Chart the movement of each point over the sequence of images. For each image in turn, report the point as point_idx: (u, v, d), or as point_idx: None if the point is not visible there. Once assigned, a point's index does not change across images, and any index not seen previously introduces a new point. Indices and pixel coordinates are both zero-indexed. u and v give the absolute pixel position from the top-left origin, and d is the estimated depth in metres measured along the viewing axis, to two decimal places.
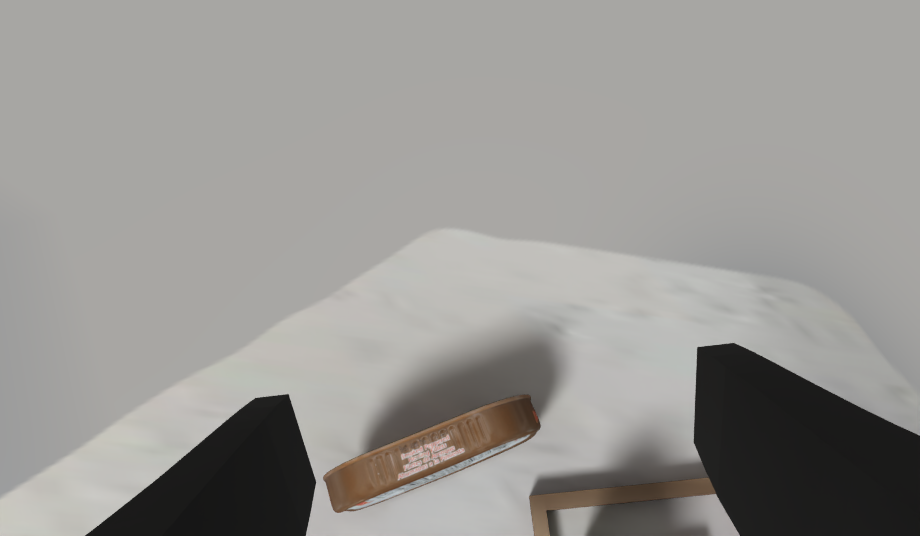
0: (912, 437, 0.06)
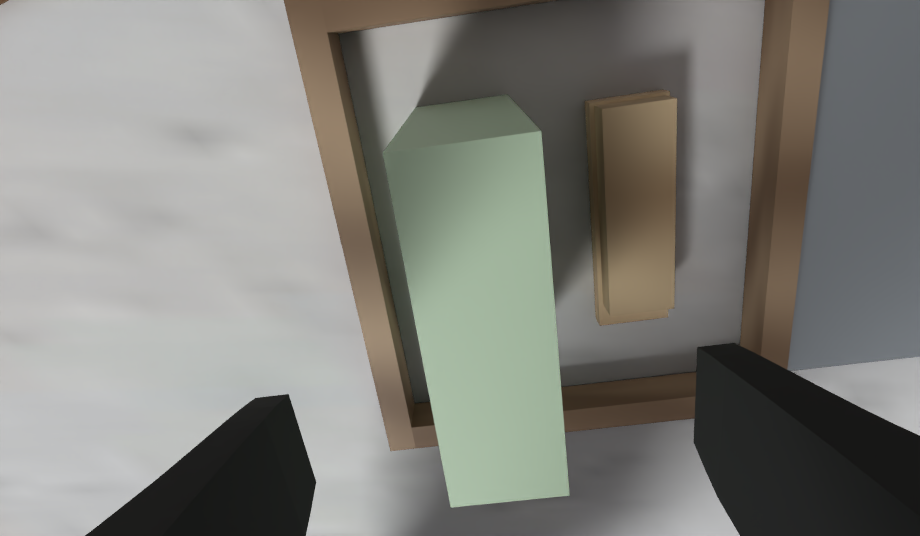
0: (911, 437, 0.06)
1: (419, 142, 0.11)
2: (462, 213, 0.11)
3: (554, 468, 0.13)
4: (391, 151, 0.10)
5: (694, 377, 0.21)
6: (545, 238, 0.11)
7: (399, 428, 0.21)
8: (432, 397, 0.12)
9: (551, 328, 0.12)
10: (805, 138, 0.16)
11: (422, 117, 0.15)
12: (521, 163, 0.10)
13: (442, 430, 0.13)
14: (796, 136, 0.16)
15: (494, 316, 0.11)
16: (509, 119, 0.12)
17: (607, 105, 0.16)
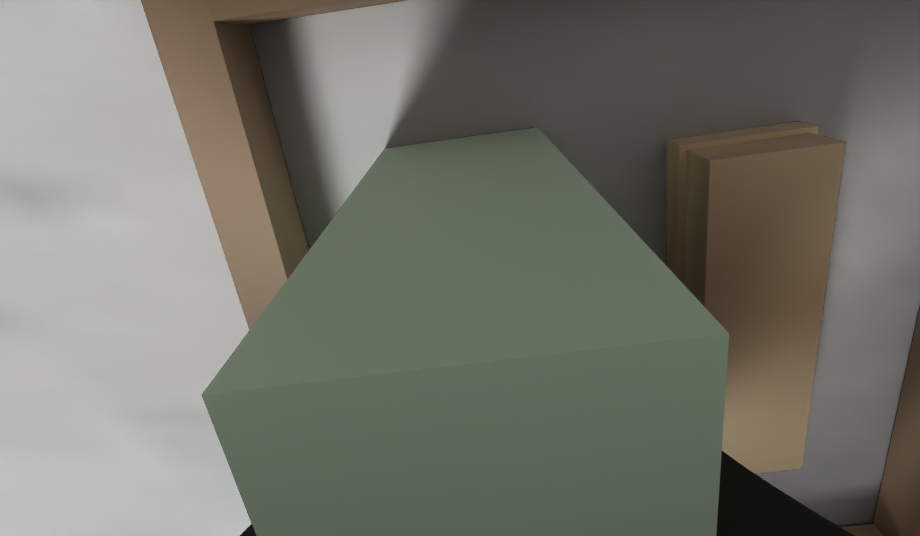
0: (722, 457, 0.06)
1: (335, 329, 0.04)
2: None
3: None
4: (233, 386, 0.03)
5: None
6: None
7: None
8: None
9: None
10: None
11: (385, 183, 0.08)
12: (651, 421, 0.03)
13: None
14: None
15: None
16: (576, 224, 0.05)
17: (714, 151, 0.09)
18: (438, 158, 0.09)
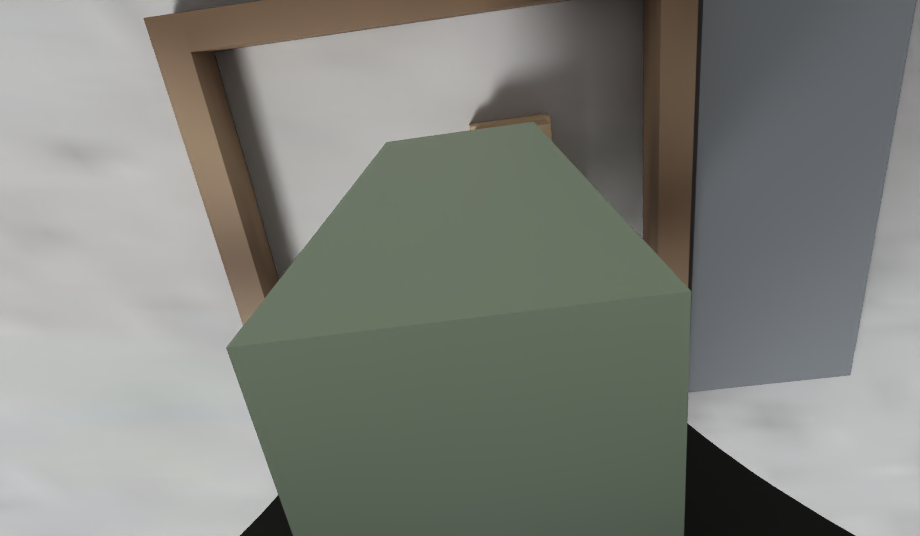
0: (721, 457, 0.06)
1: (343, 294, 0.04)
2: (457, 486, 0.04)
3: None
4: (253, 340, 0.04)
5: None
6: None
7: None
8: None
9: None
10: (684, 161, 0.16)
11: (387, 173, 0.08)
12: (623, 371, 0.04)
13: None
14: (674, 159, 0.16)
15: None
16: (564, 205, 0.05)
17: None
18: (437, 150, 0.09)
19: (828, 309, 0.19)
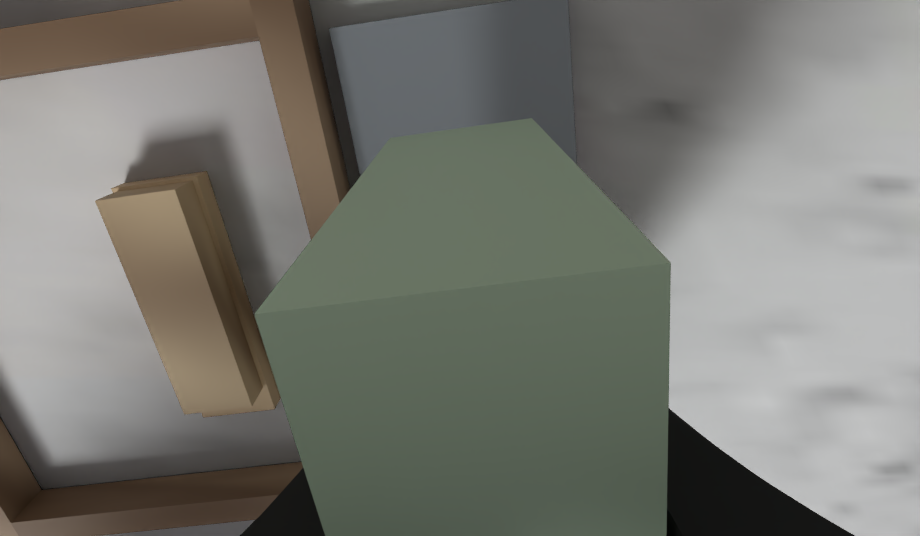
0: (721, 457, 0.06)
1: (357, 270, 0.04)
2: (461, 442, 0.04)
3: None
4: (278, 308, 0.04)
5: None
6: (658, 495, 0.05)
7: None
8: None
9: None
10: None
11: (392, 166, 0.08)
12: (611, 336, 0.04)
13: None
14: None
15: None
16: (559, 193, 0.06)
17: (117, 193, 0.15)
18: (439, 145, 0.10)
19: None
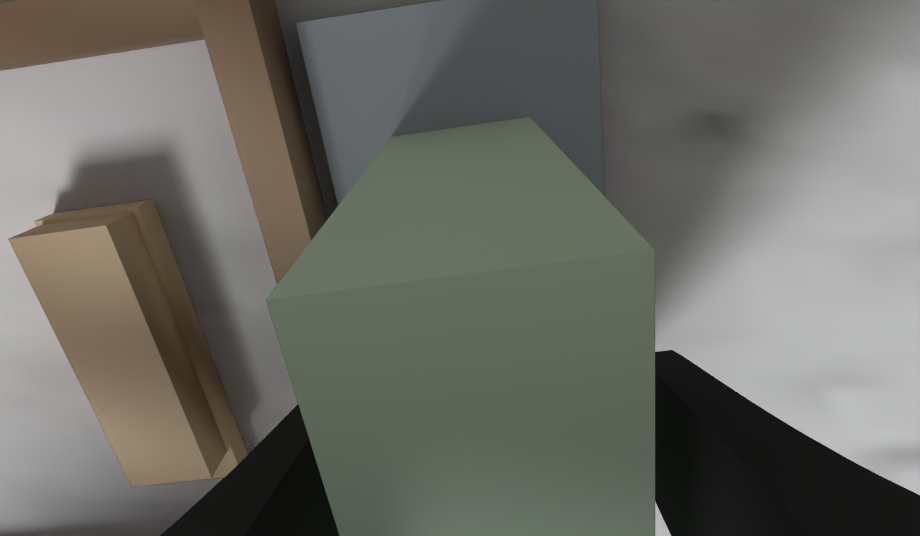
0: (816, 447, 0.06)
1: (362, 259, 0.05)
2: (458, 422, 0.05)
3: None
4: (288, 294, 0.04)
5: None
6: (646, 471, 0.05)
7: None
8: None
9: None
10: None
11: (393, 163, 0.09)
12: (600, 321, 0.04)
13: None
14: None
15: None
16: (553, 187, 0.06)
17: (39, 228, 0.12)
18: (439, 143, 0.10)
19: None
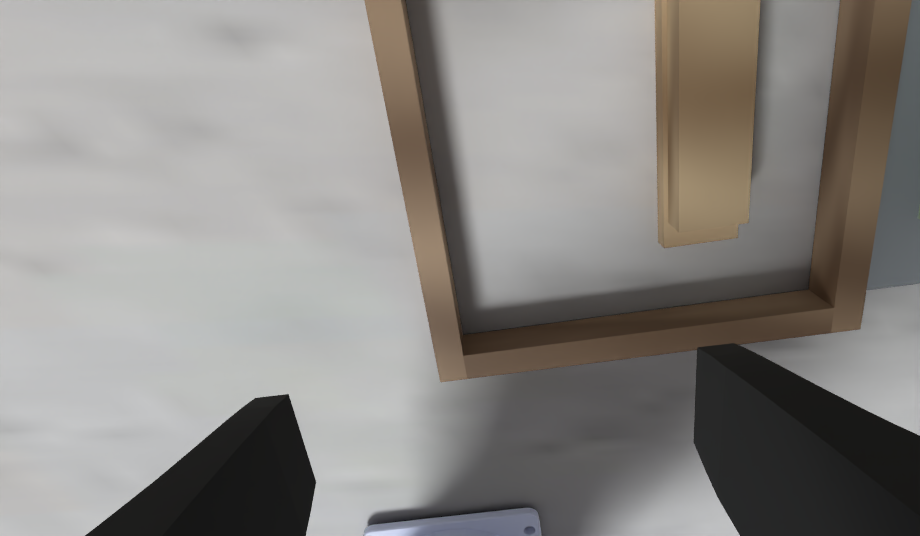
0: (912, 437, 0.06)
1: None
2: None
3: None
4: None
5: (762, 300, 0.20)
6: None
7: (450, 356, 0.19)
8: None
9: None
10: (900, 16, 0.15)
11: None
12: None
13: None
14: (890, 14, 0.15)
15: None
16: None
17: None
18: None
19: None
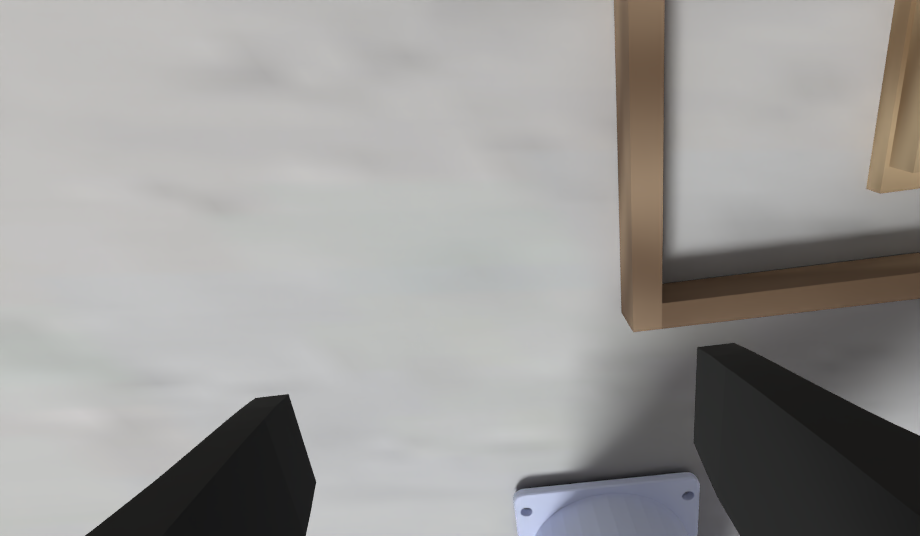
0: (911, 437, 0.06)
1: None
2: None
3: None
4: None
5: None
6: None
7: (648, 304, 0.19)
8: None
9: None
10: None
11: None
12: None
13: None
14: None
15: None
16: None
17: None
18: None
19: None
